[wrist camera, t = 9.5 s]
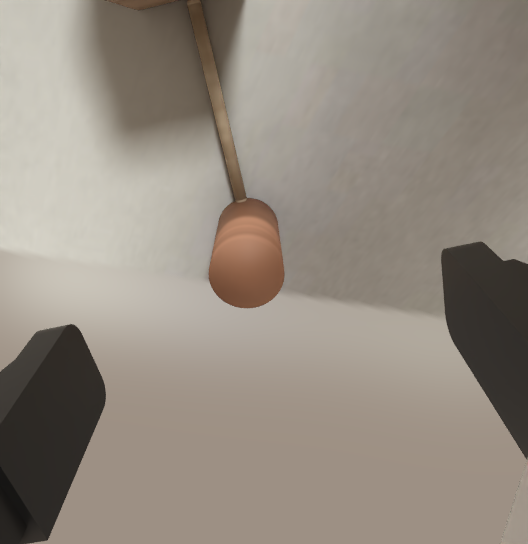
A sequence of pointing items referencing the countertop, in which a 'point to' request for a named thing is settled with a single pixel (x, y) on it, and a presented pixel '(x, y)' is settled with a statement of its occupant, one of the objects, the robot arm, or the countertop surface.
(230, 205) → the tethered walnut block
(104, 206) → the countertop surface
